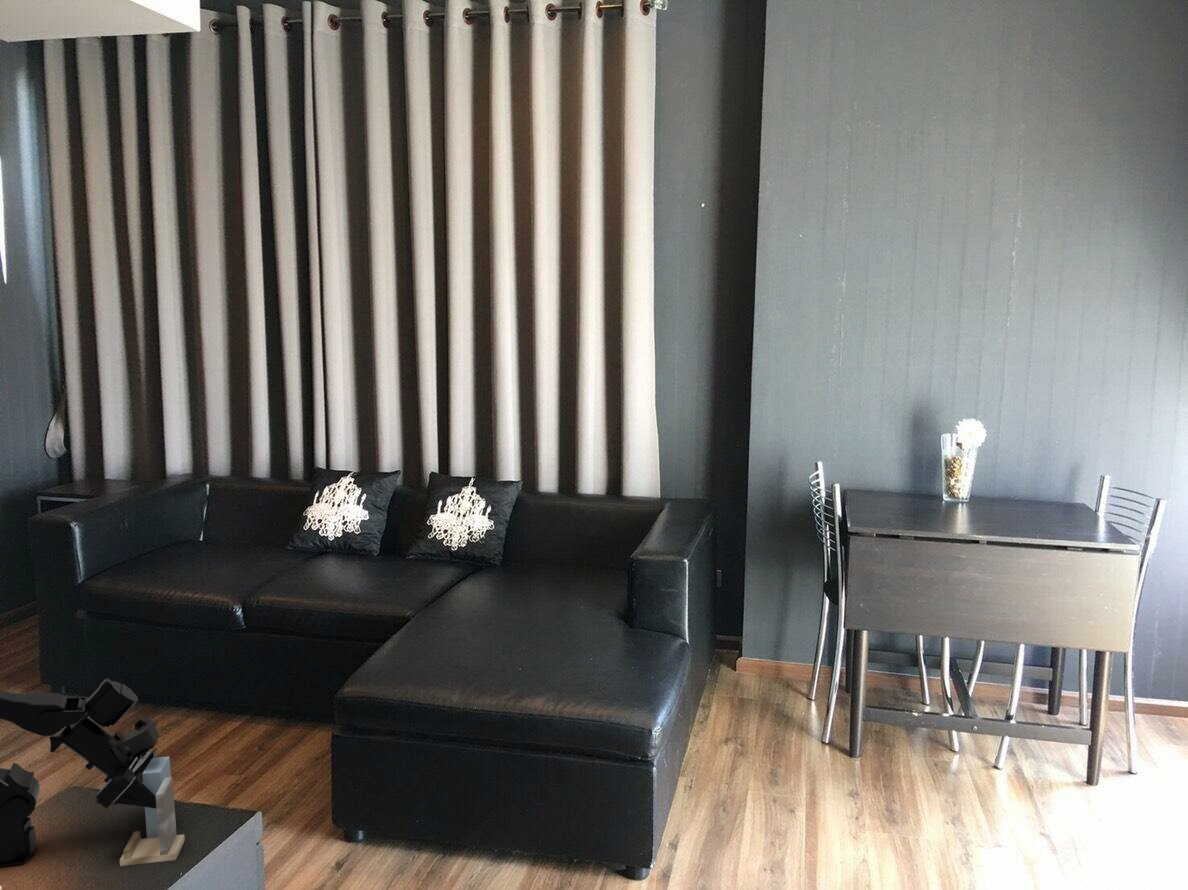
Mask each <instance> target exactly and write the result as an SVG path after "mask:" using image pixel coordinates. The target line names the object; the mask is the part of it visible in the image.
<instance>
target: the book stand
mask: <svg viewBox="0 0 1188 890" xmlns="http://www.w3.org/2000/svg"><path fill="white" fill-rule="evenodd" d="M173 777H174V776H171V777H167V778H165V779H164V781H163V783H162V784H161V786H160V788H159V790H158V791H157V793H156V807H157V821H158V835H159V837H155V838H147V837H145V838H142V836H141V835H142V834H141V833H142V832H141V830H137V831H134V832H133V833H132V834H131V836H130V838H129V840H128V842H127V844H126V846H125V848H124V849H123V851H122V852H123V853H122V855H121V857H120V858H119V866H120V867H124V866H134V865H144V864H152V863H153V864H154V863H161V862H171V861H176V860H177V858H178V857H179V854H180V852H181V850H182V847H183V845H184V843H185V841H186V839H185V833H184V834H183V833H182V834H177V823H176V808H175V794H174V781H173Z"/></svg>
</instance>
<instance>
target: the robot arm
mask: <svg viewBox="0 0 1188 890" xmlns="http://www.w3.org/2000/svg"><path fill="white" fill-rule="evenodd" d="M138 701H139V698H138V696H137V694H136V693H135V692H134V691H133V690H132V689H131V688H130V687H128V686H127V685H125V684H124V683H122V684H121V683H120V682H118V681H115V680H113V681H112V680H111V679H109V678H108V677H107V678H105V679H104V680H103V681H102V682H101V683H100V684H99V686H98V688H97V689H96V690H95V691H94V692H93V693H92V694H91V695H90V696H89V697H88V696H64V695H63V694H60V693H55V692H40V691H39V692H38V691H36V692H27V693H14V692H9V691H4V690H0V720H4V721H7V722H9V723H12V724H14V725H16V726H17V727H18V728H20V729H22V730H24V731H27V732H29V733H32V734H35V735H38V736H40V737H49V741H50V749H49V752H50V753H52V754H53V753H55V752H56V751H57V750H58V749H59V748H60V747H61V745H64V746H65V747H66V748H67V749H69V750H70V751H72V752H73V753H74V754H76V755H78V757H80V758H81V759H83V760H84V761H85V762H87V763H86V764H85V765H84V767H85V768H86V769H87V770H89V771H90V770H91V769H92V768H93V767H94V768H95V769H96V770H98V771H99V772H100V773H101V774H103V775H104V776H105V778H104V779H103V782H105V784H104V785H103V786H102V787H101V788H100V790H99V791H98V793H97V794H96V796H95V797H96V804H98V805H99V806H100V807H101V808H103V809H104V810H107V809H108V808H109V807H111V805H114V806H115V805H117V804H119V805H127V806H128V805H129V806H138V807H144V808H145V807H149V808H155V809H157V807H156V796H155V795H154V794H153V793H152V792H151V791H150V790H149V789H148V788H146V787H145V786H144V785H143V776H142V774H143V772H144V770H145V769H146V767H147V766H148V764H149V762H150V761H151V759H152V758H157V752H158V750H157V747H155V746H156V744H157V743H158V742H159V741H158V738H160V737H161V734H160V732H159V731H158V730H157V726H158V723H157V722H154V721H153V720H152V719H151V720H150V718H147V717H146V716H143V717H141V718H139V719H137V720H136V722H135V723H134V729H131V731H129V733H127V734H125V735H123V734H122V733H121V732H117V731H115V732H114V733H110V732H109V731H108V730H107V729H105V728H109V727H110V726H115V725H117V724H118V722H119V721H121V719H122V718H124V716H125V715H126V714H127V712H129V711H130V710H131V709H132V708H133V707H134V705H135V704H136V703H137V702H138ZM104 727H105V728H104ZM154 747H155V748H154ZM153 748H154V749H153ZM151 749H153V750H152V751H151V752H150V750H151ZM34 775H35V772H33V771H28V770H25V769H24V768H23V767H22V766H20V765H19V764H18V763H16V762H13V763H12V764H11V766H9V768H1V767H0V867H10V866H21V865H23V864H25V863H26V862H27V861H28V859H29V858H30V856H31V855H32V853H34V851H35V850H36V848H37V847H38V843H37V839H36V828H35V826H34V825H32V819H31V817H29V816H31V815H32V814H33V812H34V811H35V809H36V805H37V801H38V798H39V797H38V796H39V794H40V791H41V789H40V782H39V781H38V779H37V778H36V777H35V776H34Z"/></svg>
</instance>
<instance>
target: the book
mask: <svg viewBox="0 0 1188 890" xmlns="http://www.w3.org/2000/svg"><path fill="white" fill-rule="evenodd" d="M171 771H172V770H171V759H170V756H169V755H168V756H161V757H160V756H159V757H156V758H152V759H151V761H150V762H149V764H148V766H147V767H146V769H145V770H144V772H143V774H142V776H143V782H142V783H143V785H144V786H145V787H146V788H148V789H149V790H150V791H151V792H152V793H153V794H154V795H155V796H156V793H157V791H158V790H159V788H160V786H161V784H162V783H163V781H164V779H165V778H167V777H172V772H171ZM144 814H145V815H144V817H145V829H146V830H145V831H146V838H155V837H159V835H158V821H157V809H155V808H149V807H144Z"/></svg>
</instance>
